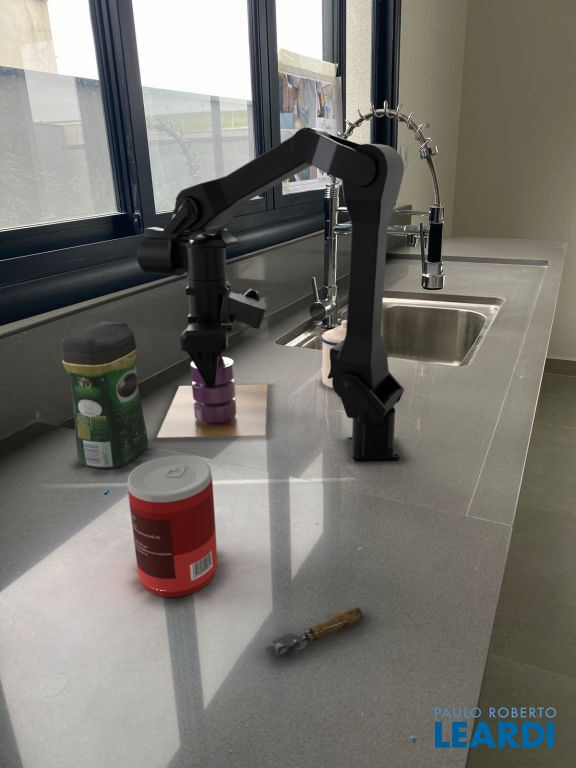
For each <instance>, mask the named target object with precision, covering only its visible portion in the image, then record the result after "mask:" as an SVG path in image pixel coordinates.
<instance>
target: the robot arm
mask: <svg viewBox="0 0 576 768" xmlns="http://www.w3.org/2000/svg"><path fill="white" fill-rule="evenodd" d="M312 166H313V167H315V168H316V169H318V170H320V171H321V172H323V173H325V174H326V175H329V176H331V177H334V178H336V179H339V180H341V189H342V196H343V201H344V205H345V208H346V211H347V214H348V218H349V220H350V245H349V246H350V247H349V265H348V266H349V267H348V268H349V270H348V285H347V286H348V289H347V310H346V313H347V314H346V320H347V328H346V336H345V339H344V340H343V341H341V342H340V343H338V344H337V345H335V346H334V347H332V348H331V349H330V363H331V368H330V373H329V375H328V379H330V378H332V385H333V388H332V389H333V392H334V393H335V394H336V395H337V396H338V397H339V399H340V400H341V403H342V407H343V409H344V412H345V415H346V417H347V419H352V428H351V429H352V432H351V433H352V435H351V436H350V437H349V436H348V437H347V438H346V441H347V445H348V449H349V450H348V451H349V453H350V457H351V459H352V460H353V461H391V460H393V461H395V460H397V461H398V460H399V459H400V457H401V456H400V452H399V450H398V448H397V445H396V443H395V423H396V421H395V420H396V409H395V405H396V404H398V403H399V402H400V401H401V399H402V396H403V394H404V392H405V388H404V387H403V386H402V385H401V383H400V382H399V380H397V379H396V378H395V376H394V375H393V374H392V373H391V372H390V371H389V361H388V353H387V352H388V351H387V348H386V345H385V342H384V341H385V340H384V339H383V338H384V337H383V336H382V330H381V329H382V315H383V302H384V301H383V299H384V285H385V284H384V283H385V272H386V256H387V242H388V230H389V229H388V228H389V221H390V219H391V216H392V214H393V211H394V208H395V207H396V204H397V201H398V198H399V194H400V190H401V185H402V182H403V178H404V172H405V164H404V160H403V157H402V156H401V155H400V153H399V152H398V151H397V150H396V149H395V148H393V147H392V146H390V145H386V144H380V143H379V144H378V143H362V144H361V143H358V142H355V141H352V140H349V139H346V138H343V137H339V136H337V135H334V134H332V133H329V132H328V131H326V130H325V129H323V128H317V127H306V126H305V127H301V128H300V129H298V130H297V131H296V132H295V133H294V134H293V135H292V136H290V137H288V138H287V139H285V140H284V141H282V142H280V143H279V144H277V145H275V146H274V147H272V148H270V149H269V150H267V151H265V152H264V153H262V154H260V155H258V156H257V157H256V158H254V159H252V160H249V162H247V163H245V164H244V165H242V166H240V167H238V168H236V169H235V170H233V171H232V172H230V173H228V174H227V175H225V176H222V177H219V178H216V179H212V180H208V181H203V182H200V183H198V184H195V185H191V186H188V187H186V188H184V189H182V190H180V191H179V192H178V193H177V195H176V196H175V204H174V209H173V211H172V212H171V215H170V217H169V218H168V221H167V223H166V225H165V226H164V228H161V227H147V228H146V227H145V228H144V229H143V230H144V237H143V238H142V239H141V241H140V242H139V246H138V250H137V251H136V259H137V263H138V265H139V268H140V269H141V271H143V273H145V274H150V275H161V276H163V275H164V276H175V277H176V276H177V277H181V276H183V275H184V274H186V280H187V286H186V287H185V296H188V307H189V308H188V310H189V313H188V315H187V323H188V324H189V325H188V326H187V327H186V328H185V329H183V331H182V333H181V334H180V337H179V339H180V340H179V341H180V350H181V351H182V352H186V353H187V354H188V356H189V357H190V359H191V362H192V361H193V362H194V364H195V366H196V368H197V369H198V371H199V373H200V375H201V376H202V378H203V380H204V382H205V384H206V386H207V387H214V386H215V381H216V373H217V366H218V358H219V357H222V354H223V353H224V352H225V351H226V350H228V347H229V334H230V333H231V332H232V330H233V328H234V323H235V322H238V323H241V324H244V325H247V326H249V327H250V328H252V329H255V330H260V329H261V328H262V327H261V326H262V324H263V320H264V318H265V314H266V312H267V308H268V307H267V306H268V304H267V303H265V301H264V300H261V299H260V293H259V291H258V290H255V289H253V288H249V289H247V291H246V292H245V293H243V294H242V293H241V292H239V293H236V292H232V287H231V283H229V281H228V274H227V273H228V272H227V255H226V254H227V253H226V249H228V248H232V247H236V246H237V247H238V245H240V242H239V240H238V239H237V238H236V237H235V236H233V235H232V234H231V233H230V232H229V230H228V228H223V229H218V228H221V227H223V226H225V225H226V224H228V222H229V221H230V220H232V219H233V218H234V217H235V216H236V215H238V214H239V213H240V211H241V210H242V209H243V207H244V206H245V205H246V204H247V203H248V202H250V201H251V200H252V199H254V198H256V197H258V196H260V195H261V194H263V193H265V192H267V191H269V190H271V189H272V188H274V187H276V186H277V185H279V184H281V183H283V182H285V181H287V180H288V179H290V178H292V177H294V176H296V175H297V174H299V173H301V172H303V171H305V170H306V169H308V168H310V167H312ZM211 229H218V230H217V231H216V232H215V233H213V234H212V233H207V232H208V231H210V230H211ZM196 235H197V236H196ZM191 236H196V237H194V239H191Z"/></svg>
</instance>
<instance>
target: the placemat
mask: <svg viewBox="0 0 576 768" xmlns="http://www.w3.org/2000/svg"><path fill="white" fill-rule="evenodd" d="M268 385H269V384H268V383H264V384H263V383H259V384H235V398H236V415H235V416H234V417H233V418H231V419H229V420H228V421H226V422H222V423H216V424H211V423H205V422H203V421H200V420H198V419H196V418H195V416H194V406H193V400H194V399H193V393H192V385H179V386H178V388H177V390H176V392H175V395H174V397H173V399H172V402H171V403H170V406H169V408H168V410H167V413H166V415H165V418H164V420H163V422H162V424H161V426H160V429H159V431H158V433H157V436H156V438H157V439H169V438H173V439H174V438H175V439H176V438H215V437H216V438H217V437H219V438H220V437H260V436H261V437H263V436H264V437H265V436H266V433H267V415H268V414H267V411H268V391H269V390H268V389H269V387H268Z"/></svg>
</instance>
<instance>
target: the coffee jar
mask: <svg viewBox="0 0 576 768" xmlns="http://www.w3.org/2000/svg"><path fill="white" fill-rule="evenodd" d="M60 348H61V358H62V366H63V367H64V369H65V371H66V373H67V376H68V379H69V383H70V389H71V396H72V408H73V417H74V418H73V419H74V430H75V443H76V444H75V445H76V455H77V460H78V462H79V463H80V464H81V465H83V466H84V467H87V468H90V469H93V470H94V469H95V470H113V469H120V468H123V467H125V466H126V465H129V464H130V463H131V462H133V461H134V460H136V459H137V458H138V457H139V456H140V455H141V454H142V453H143V452H144V451H145V450H146V449H147V447H148V445H149V439H148V432H147V427H146V420H145V417H144V412H143V406H142V399H141V393H140V387H139V380H138V372H137V356H138V355H137V354H138V348H137V343H136V338H135V334H134V331H133V329H132V328H131V327H130V326H129V325H128V324H127V323H125V322H114V321H101V322H100V323H98V324H96V325H93V326H90V327H87V328H85V329H83V330H80V331H77V332H75V333H71V334H69V335H66V336H65V337H64V338H63V339H62V340H61V341H60Z"/></svg>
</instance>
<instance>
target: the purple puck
mask: <svg viewBox="0 0 576 768" xmlns="http://www.w3.org/2000/svg"><path fill="white" fill-rule="evenodd" d="M235 385H236V380H235V378H234V379H232V380H231V381H229V382H227V383H226V384H224V385H220V386H214V387H207V386H203V385H200V384H199V383H196V382H194V381H192V382H191V386H192V393H193V399H194V400H195V401H197V402H200V403H202V404H205V405H220V404H224V403H226V402H228V401H229V400H231V399H233V398H234V397H235Z"/></svg>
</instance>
